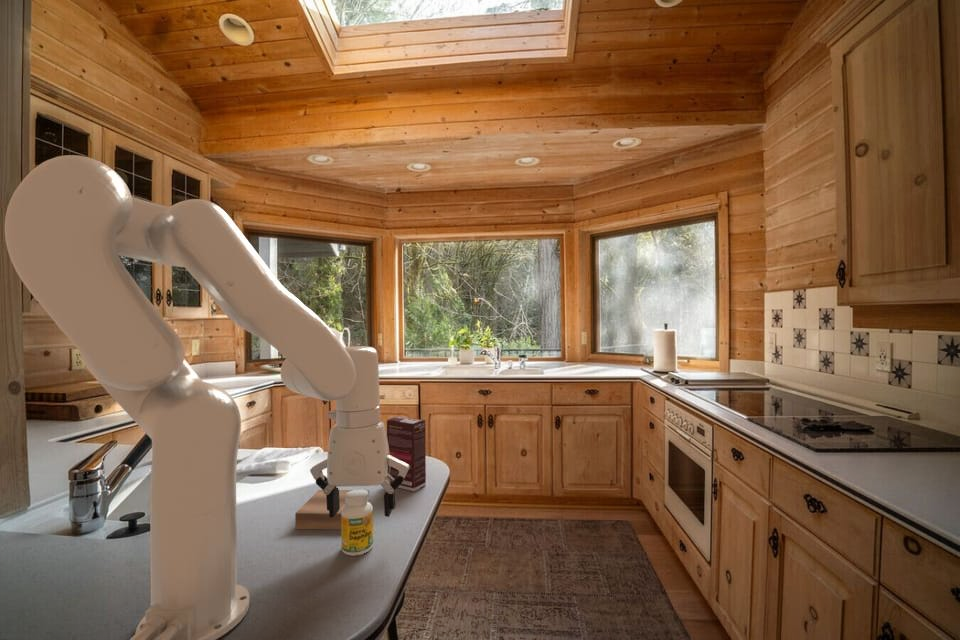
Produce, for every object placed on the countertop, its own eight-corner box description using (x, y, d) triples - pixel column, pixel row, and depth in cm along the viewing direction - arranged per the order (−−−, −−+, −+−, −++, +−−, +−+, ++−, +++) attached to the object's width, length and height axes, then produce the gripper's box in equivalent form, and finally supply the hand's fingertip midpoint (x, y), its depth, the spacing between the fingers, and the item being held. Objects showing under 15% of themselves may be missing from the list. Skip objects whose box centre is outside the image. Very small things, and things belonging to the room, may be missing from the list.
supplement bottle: (367, 537, 78) (367, 485, 78) (377, 550, 73) (377, 495, 73) (337, 546, 75) (337, 492, 75) (346, 560, 70) (346, 503, 70)
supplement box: (426, 485, 102) (426, 419, 102) (414, 492, 98) (413, 423, 98) (399, 478, 106) (399, 415, 106) (386, 485, 102) (385, 419, 102)
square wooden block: (352, 529, 81) (352, 513, 81) (295, 529, 81) (295, 513, 81) (369, 504, 92) (369, 490, 92) (318, 503, 92) (318, 489, 92)
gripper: (299, 424, 71) (303, 525, 71) (402, 422, 70) (406, 523, 71) (318, 412, 78) (321, 504, 79) (411, 410, 78) (414, 502, 78)
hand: (361, 513), depth 75 cm, fingers open, 9 cm apart
